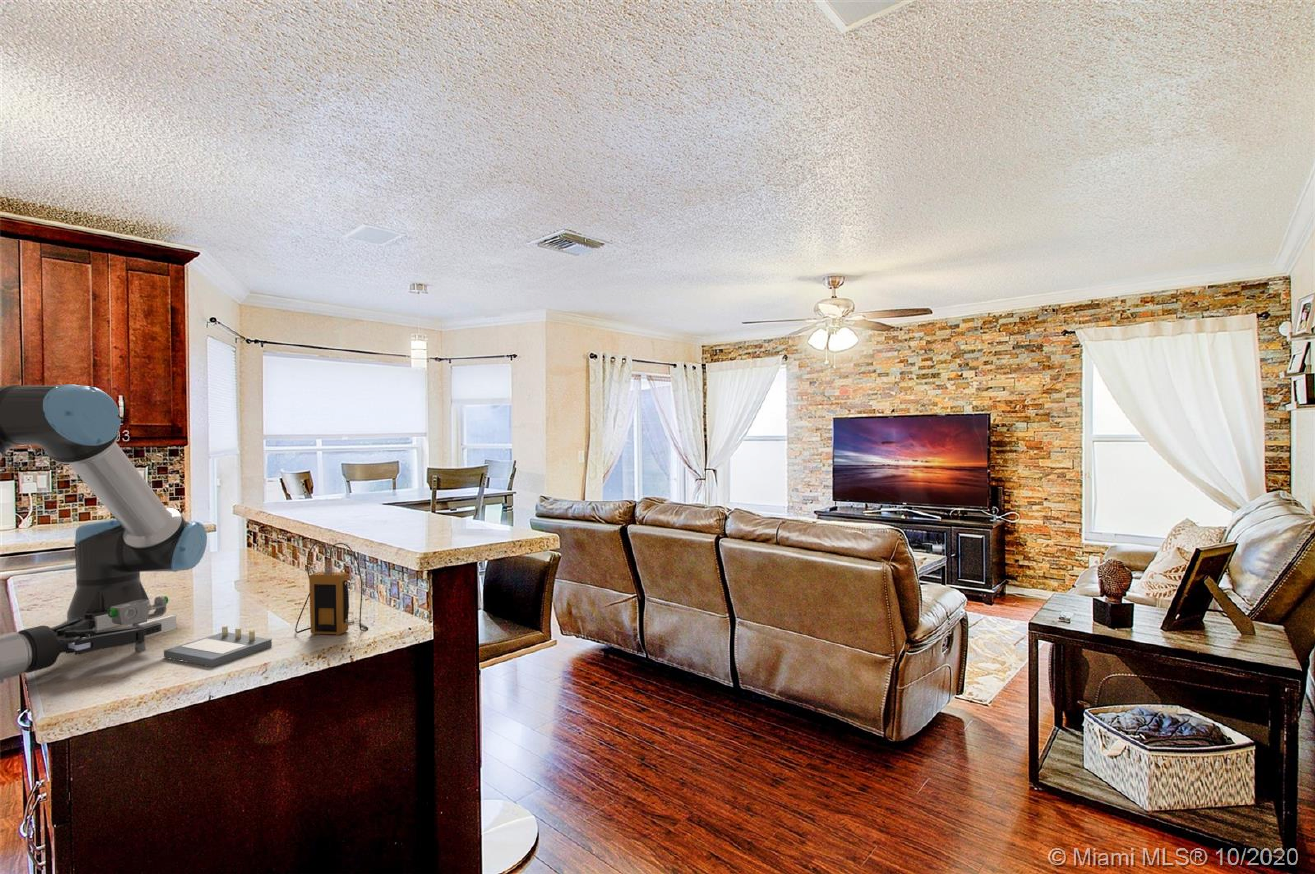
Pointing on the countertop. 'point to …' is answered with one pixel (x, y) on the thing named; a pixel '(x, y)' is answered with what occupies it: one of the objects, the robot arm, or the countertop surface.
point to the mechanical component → (137, 613)
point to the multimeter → (329, 600)
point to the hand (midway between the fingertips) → (153, 618)
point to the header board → (219, 648)
